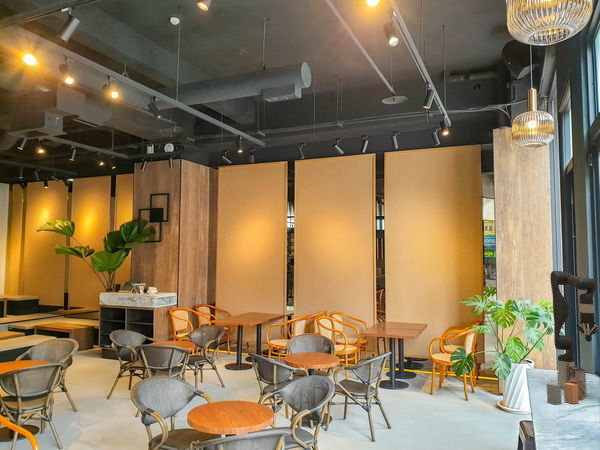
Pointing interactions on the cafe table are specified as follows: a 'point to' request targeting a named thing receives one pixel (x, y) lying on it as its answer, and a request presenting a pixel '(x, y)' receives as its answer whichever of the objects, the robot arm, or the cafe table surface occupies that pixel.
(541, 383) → the cafe table surface
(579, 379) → the coffee box
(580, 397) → the walnut block
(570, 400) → the terracotta block
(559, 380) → the robot arm
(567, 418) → the cafe table surface
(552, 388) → the slate block
